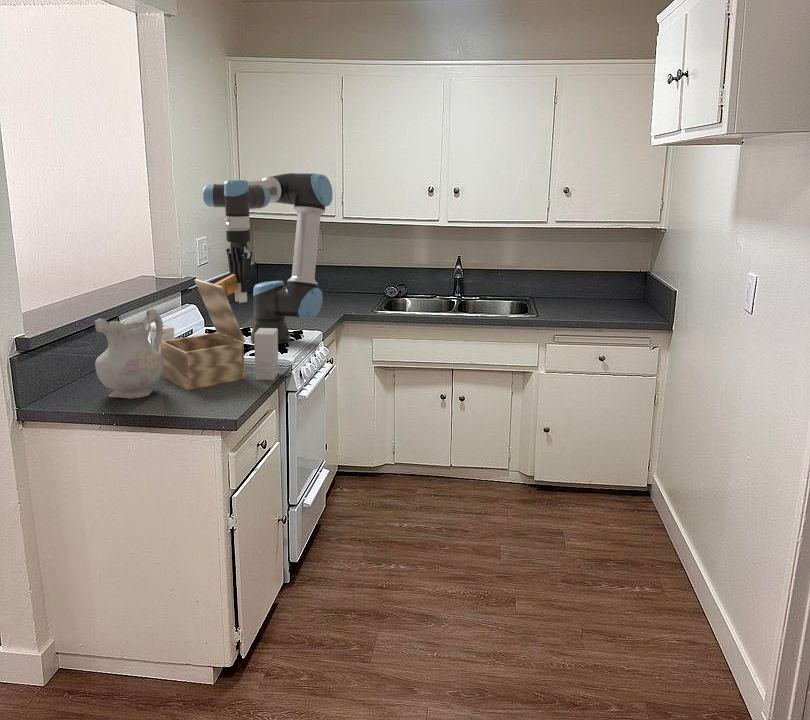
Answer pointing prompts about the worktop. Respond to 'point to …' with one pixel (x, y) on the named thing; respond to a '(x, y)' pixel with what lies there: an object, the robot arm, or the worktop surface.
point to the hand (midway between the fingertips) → (241, 301)
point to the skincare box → (266, 353)
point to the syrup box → (166, 335)
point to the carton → (202, 360)
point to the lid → (221, 305)
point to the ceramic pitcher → (130, 356)
